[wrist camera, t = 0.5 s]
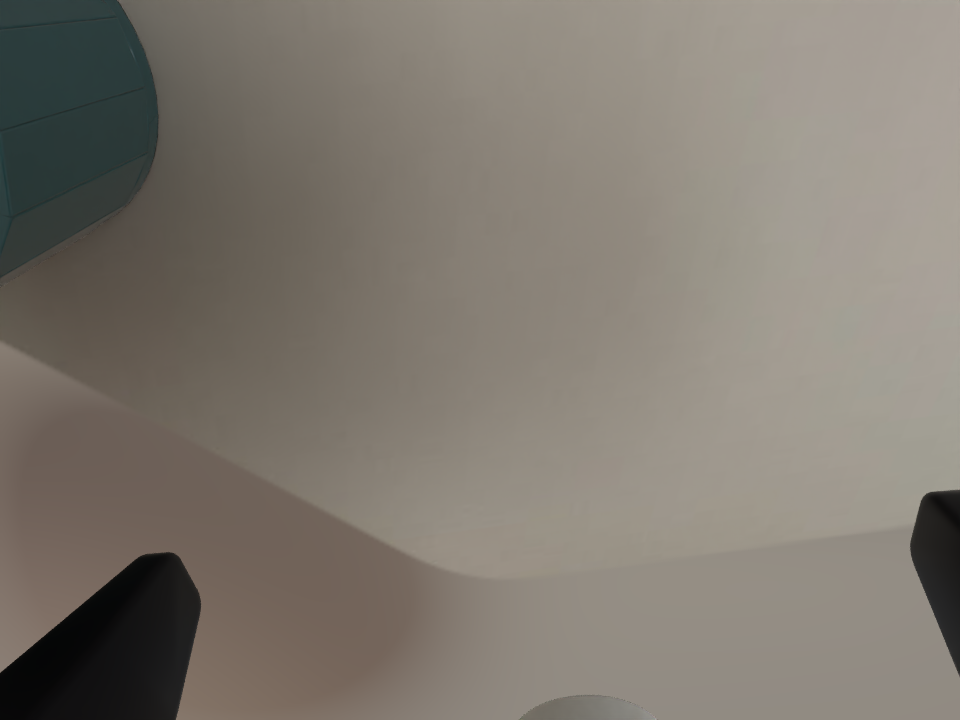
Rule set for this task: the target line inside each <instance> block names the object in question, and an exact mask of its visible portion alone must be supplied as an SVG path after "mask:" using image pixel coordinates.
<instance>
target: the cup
mask: <svg viewBox="0 0 960 720" xmlns="http://www.w3.org/2000/svg"><path fill="white" fill-rule="evenodd" d="M157 137H158V108H157V98H156V91H155V87H154V82H153V77H152V73H151V70H150V67H149V64H148V61H147V58H146V55H145V52H144V49H143V47H142V45H141V43H140V41H139V38H138V36H137V34H136V32H135V30H134V28H133V26H132V24H131V22H130V21H129V19H128V17H127V16H126V14H125V12H124V10H123V9H122V7H121V5H120V4H119V3H118V1H117V0H0V288H1V287H2V286H4V285H6V284H7V283H9V282H10V281H12V280H14V279H15V278H17V277H19V276H20V275H22V274H24V273H25V272H27V271H29V270H30V269H32V268H34V267H35V266H37V265H39V264H40V263H42V262H44V261H45V260H47V259H49V258H50V257H52V256H54V255H55V254H57V253H59V252H60V251H62V250H63V249H65V248H67V247H68V246H70V245H72V244H73V243H75V242H77V241H78V240H80V239H82V238H83V237H85V236H87V235H88V234H90V233H91V232H92V231H93V230H95V229H96V228H97V227H99V226H100V225H101V224H102V223H104V222H106V221H107V220H109V219H110V218H112V217H113V216H115V215H116V214H118V213H119V212H120V211H121V210H122V209H123V208H124V207H125V206H126V205H127V204H128V203H130V202H131V200H132V199H133V198H134V196H135V195H136V194H137V192H138V191H139V190H140V188H141V186H142V184H143V183H144V181H145V179H146V177H147V175H148V173H149V170H150V167H151V164H152V161H153V158H154V154H155V148H156V143H157Z"/></svg>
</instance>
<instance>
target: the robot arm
mask: <svg viewBox="0 0 960 720" xmlns="http://www.w3.org/2000/svg"><path fill="white" fill-rule="evenodd" d="M910 547H911V548H910V550H911V556H912V560H913V563H914V566H915V569H916V571H917V573H918V576H919V578H920V581H921V583H922V586H923V588H924V591H925V593H926V596H927V598H928V600H929V603H930V605H931V608H932V610H933V613H934V615H935V618H936V620H937V622H938V625H939V627H940V629H941V632H942V635H943V637H944V639H945V642H946V644H947V647H948V649H949V652H950V654H951V657H952V659H953V662H954V664H955V667H956V669H957V671H958V674H959V676H960V490H950V491H937V492H930V493H927V494H926V495H925V496H924V497H923V498H922V500H921V503H920V507H919V511H918V514H917V518H916V522H915V526H914V530H913V534H912V538H911V543H910ZM200 610H201V600H200V596H199V593H198V590H197V588H196V587H195V585H194V583H193V581H192V579H191V577H190V576H189V574H188V572H187V570H186V568H185V566H184V565H183V563H182V561H181V559H180V558H179V557H178V556H177V555H175V554H174V553H170V552H166V553H154V554H145V555H142V556H140V557H138V558H137V559H136V560H134V561H133V562H132V563H131V564H130V565H129V566H127V567H126V568H125V569H124V570H123V571H121V572H120V573H119V574H118V575H117V576H115V577H114V578H113V579H112V580H111V581H109V582H108V583H107V584H106V585H105V586H103V587H102V588H101V589H100V590H99V591H97V592H96V593H95V594H94V595H93V596H91V597H90V598H89V599H88V600H87V601H85V602H84V603H83V604H82V605H81V606H79V607H78V608H77V609H76V610H75V611H74V612H72V613H71V614H70V615H69V616H68V617H66V618H65V619H64V620H63V621H62V622H60V624H58V625H57V626H56V627H54V629H52V630H51V631H50V632H48V633H47V634H46V635H45V636H44V637H42V638H41V639H40V640H39V641H38V642H36V643H35V644H34V645H33V646H32V647H31V648H29V649H28V650H27V651H26V652H25V653H23V654H22V655H21V656H20V657H19V658H17V659H16V660H15V661H14V662H13V663H12V664H10V665H9V666H8V667H7V668H6V669H4V670H3V671H2V672H1V673H0V720H176V717H177V713H178V709H179V704H180V700H181V695H182V691H183V687H184V682H185V677H186V674H187V669H188V665H189V660H190V656H191V651H192V647H193V643H194V638H195V633H196V629H197V625H198V621H199V616H200Z"/></svg>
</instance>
